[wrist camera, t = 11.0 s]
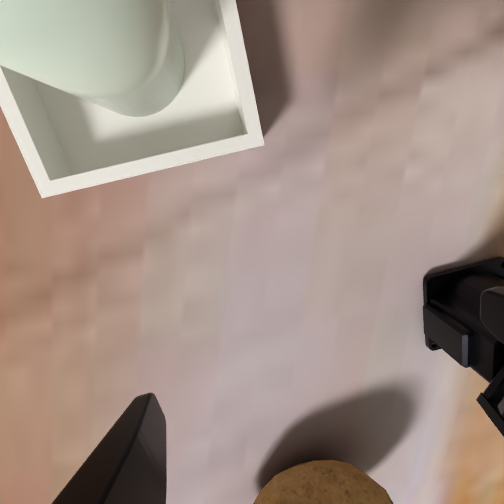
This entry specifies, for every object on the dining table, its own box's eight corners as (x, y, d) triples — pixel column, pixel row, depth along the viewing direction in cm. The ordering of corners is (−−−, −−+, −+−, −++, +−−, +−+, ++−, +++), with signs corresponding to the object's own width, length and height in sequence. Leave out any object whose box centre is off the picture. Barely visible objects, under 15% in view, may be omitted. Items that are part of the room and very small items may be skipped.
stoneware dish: (206, -95, 15) (203, -159, 12) (256, 146, 19) (264, 145, 16) (-28, -46, 14) (-92, -99, 11) (71, 190, 18) (41, 197, 15)
